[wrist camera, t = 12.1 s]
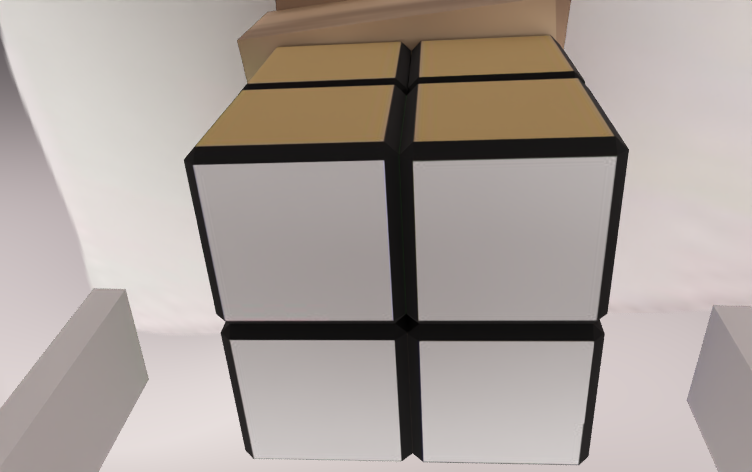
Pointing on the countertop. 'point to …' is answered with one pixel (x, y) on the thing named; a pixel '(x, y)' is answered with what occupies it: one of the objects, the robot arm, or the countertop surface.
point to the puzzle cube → (413, 250)
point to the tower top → (393, 24)
